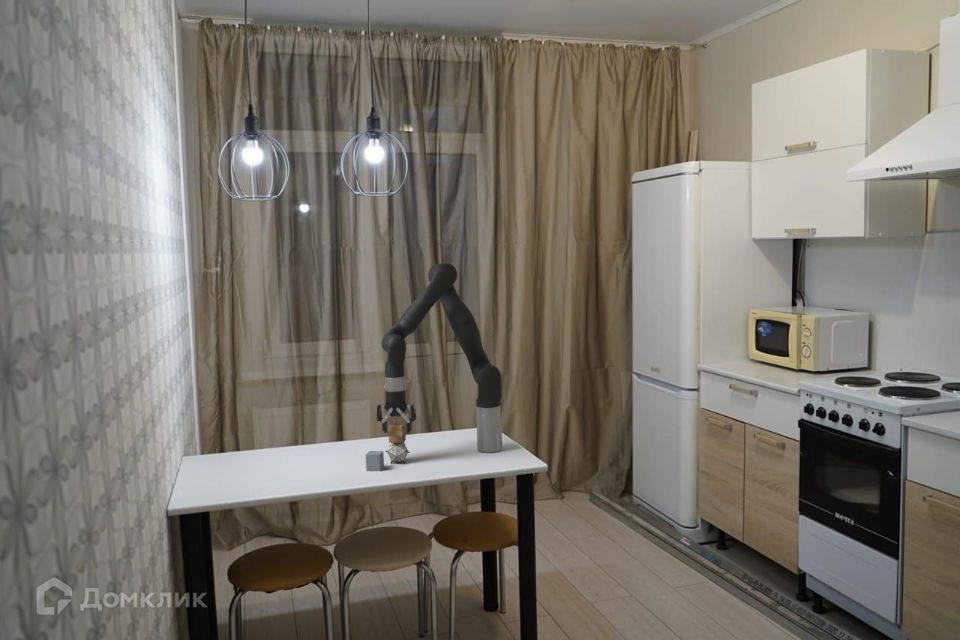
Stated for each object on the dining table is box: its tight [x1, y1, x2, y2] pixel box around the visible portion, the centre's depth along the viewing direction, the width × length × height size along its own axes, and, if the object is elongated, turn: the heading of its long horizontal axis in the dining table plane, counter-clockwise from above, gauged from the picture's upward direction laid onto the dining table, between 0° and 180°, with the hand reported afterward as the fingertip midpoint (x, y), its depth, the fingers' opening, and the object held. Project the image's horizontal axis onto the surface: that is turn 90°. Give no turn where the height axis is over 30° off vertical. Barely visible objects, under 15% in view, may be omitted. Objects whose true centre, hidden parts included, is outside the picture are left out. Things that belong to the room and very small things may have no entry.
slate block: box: [365, 450, 385, 472], centre depth 269 cm, size 5×5×6 cm
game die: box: [385, 440, 411, 464], centre depth 276 cm, size 9×8×10 cm
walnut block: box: [387, 423, 407, 444], centre depth 276 cm, size 5×5×6 cm
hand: (397, 432), depth 276 cm, fingers open, 8 cm apart
